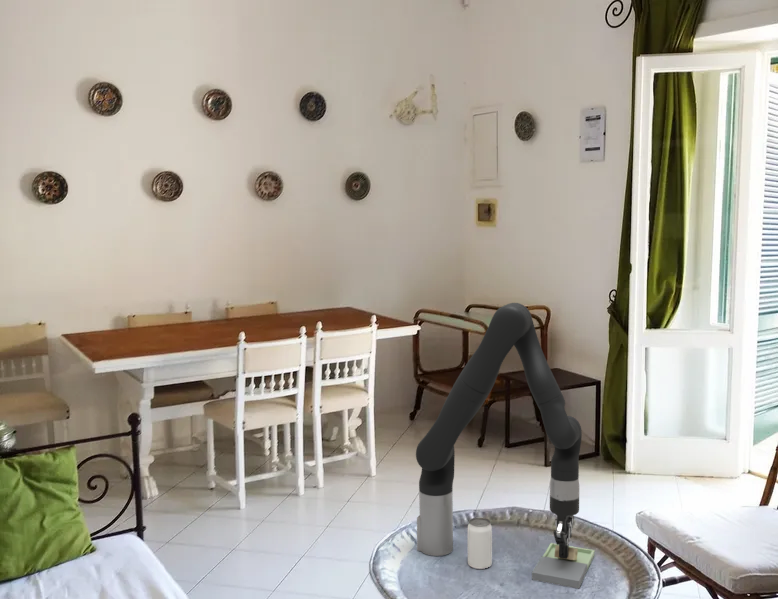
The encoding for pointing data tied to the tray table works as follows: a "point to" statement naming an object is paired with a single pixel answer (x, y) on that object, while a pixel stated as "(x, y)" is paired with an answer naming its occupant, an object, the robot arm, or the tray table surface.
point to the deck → (559, 572)
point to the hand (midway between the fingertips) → (563, 557)
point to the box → (582, 555)
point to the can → (479, 543)
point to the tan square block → (572, 553)
